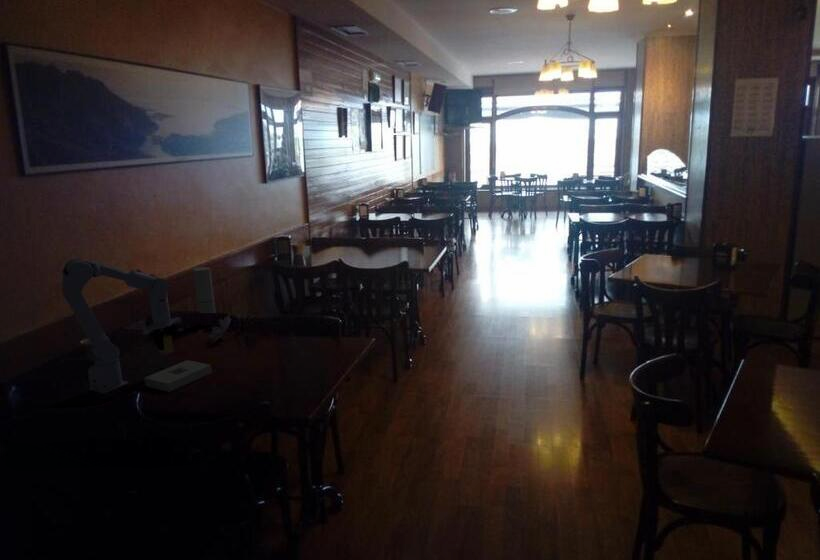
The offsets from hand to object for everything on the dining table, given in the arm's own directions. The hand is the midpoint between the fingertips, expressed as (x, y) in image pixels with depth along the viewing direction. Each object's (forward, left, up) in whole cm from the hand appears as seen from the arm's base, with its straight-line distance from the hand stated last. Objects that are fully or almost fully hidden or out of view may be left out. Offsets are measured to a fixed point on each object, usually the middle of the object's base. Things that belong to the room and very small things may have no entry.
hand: (165, 347), depth 220 cm
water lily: (+33, +9, -9) cm, 36 cm away
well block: (-4, -11, -8) cm, 15 cm away
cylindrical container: (+47, +31, -9) cm, 57 cm away
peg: (0, 0, -2) cm, 2 cm away
